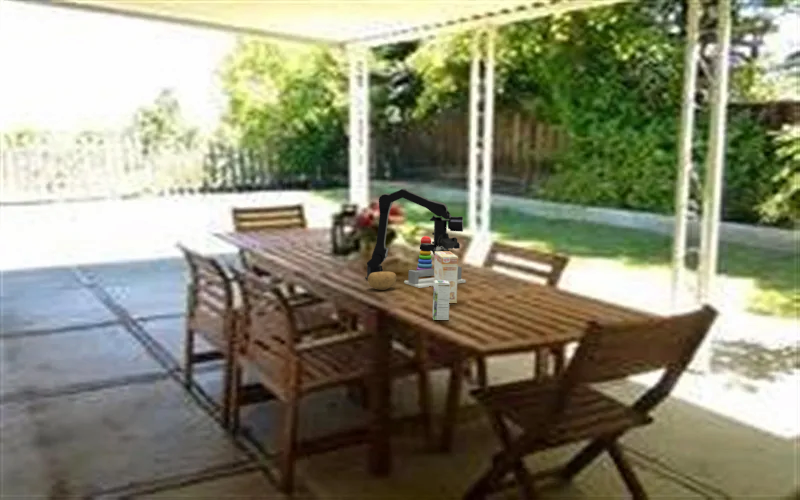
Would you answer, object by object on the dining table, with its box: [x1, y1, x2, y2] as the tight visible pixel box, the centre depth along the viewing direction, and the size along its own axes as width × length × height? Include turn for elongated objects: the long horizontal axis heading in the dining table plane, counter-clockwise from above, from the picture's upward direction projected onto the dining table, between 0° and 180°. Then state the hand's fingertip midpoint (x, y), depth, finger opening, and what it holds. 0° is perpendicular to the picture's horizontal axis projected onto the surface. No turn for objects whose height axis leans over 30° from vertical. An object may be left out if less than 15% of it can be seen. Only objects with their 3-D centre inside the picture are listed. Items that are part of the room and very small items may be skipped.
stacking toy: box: [416, 235, 433, 278], centre depth 423 cm, size 8×8×19 cm
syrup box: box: [432, 280, 450, 321], centre depth 337 cm, size 6×6×14 cm
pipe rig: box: [403, 265, 467, 289], centre depth 406 cm, size 26×12×7 cm, turn 123°
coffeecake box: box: [433, 251, 459, 303], centre depth 369 cm, size 15×7×20 cm, turn 9°
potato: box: [367, 271, 397, 291], centre depth 390 cm, size 10×14×8 cm
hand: (439, 264), depth 407 cm, fingers closed
